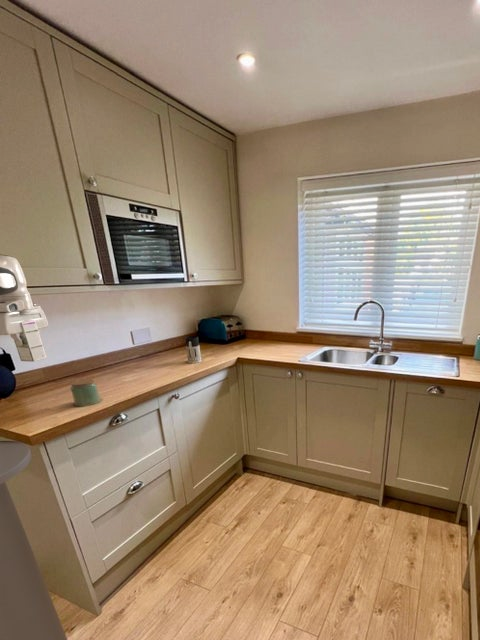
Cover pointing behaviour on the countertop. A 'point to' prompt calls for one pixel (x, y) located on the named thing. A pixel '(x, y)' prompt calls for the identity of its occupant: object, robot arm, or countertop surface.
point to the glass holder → (193, 349)
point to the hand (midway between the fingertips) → (29, 343)
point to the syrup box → (30, 342)
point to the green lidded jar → (85, 392)
